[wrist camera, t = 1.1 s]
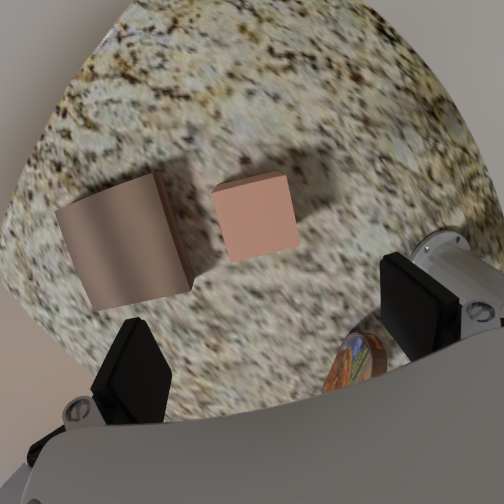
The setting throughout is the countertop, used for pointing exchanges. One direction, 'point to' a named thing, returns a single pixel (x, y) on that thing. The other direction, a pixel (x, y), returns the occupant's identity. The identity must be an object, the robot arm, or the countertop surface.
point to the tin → (356, 361)
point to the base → (126, 244)
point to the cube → (256, 215)
